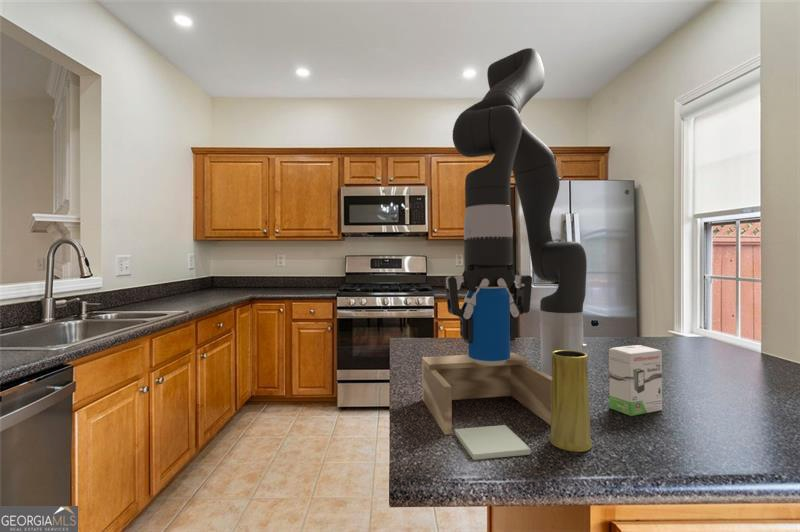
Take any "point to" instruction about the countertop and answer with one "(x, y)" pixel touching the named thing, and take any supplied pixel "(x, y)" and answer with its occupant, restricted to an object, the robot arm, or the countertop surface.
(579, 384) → the vase
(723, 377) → the countertop surface
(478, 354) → the beverage can
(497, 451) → the tile
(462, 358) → the cubby
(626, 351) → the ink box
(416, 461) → the countertop surface
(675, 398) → the countertop surface
